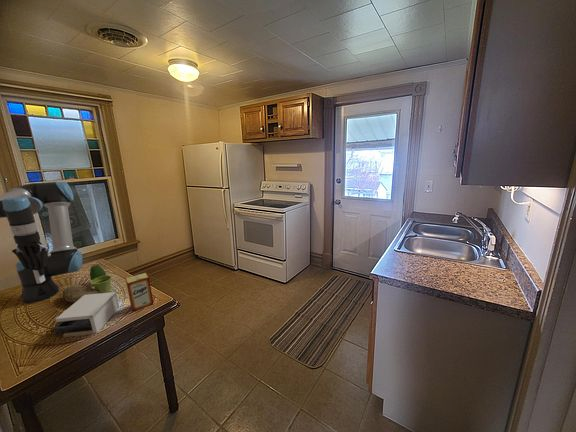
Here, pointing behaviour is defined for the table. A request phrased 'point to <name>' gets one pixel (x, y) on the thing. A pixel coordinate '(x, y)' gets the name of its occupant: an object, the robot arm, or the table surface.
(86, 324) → the tray
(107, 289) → the plant pot
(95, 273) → the avocado
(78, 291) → the sponge
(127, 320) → the table surface
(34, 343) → the table surface
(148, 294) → the baking soda box
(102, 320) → the white box
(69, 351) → the table surface
